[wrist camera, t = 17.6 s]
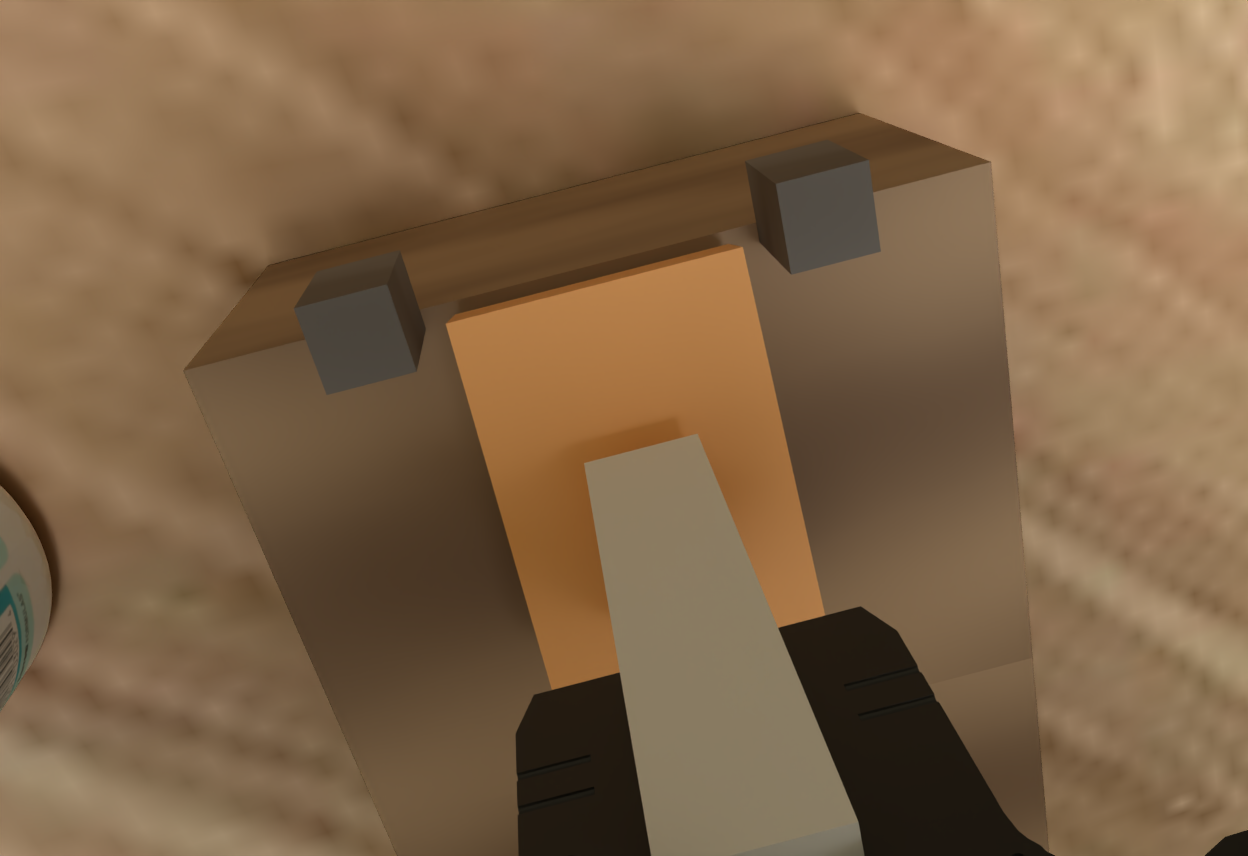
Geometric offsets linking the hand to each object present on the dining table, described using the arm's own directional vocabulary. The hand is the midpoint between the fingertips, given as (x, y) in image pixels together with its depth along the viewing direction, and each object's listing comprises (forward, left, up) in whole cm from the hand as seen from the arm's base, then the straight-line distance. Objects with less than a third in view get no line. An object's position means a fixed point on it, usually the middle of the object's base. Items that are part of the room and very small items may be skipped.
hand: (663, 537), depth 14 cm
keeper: (0, 0, -2) cm, 2 cm away
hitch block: (-5, 0, -9) cm, 10 cm away
